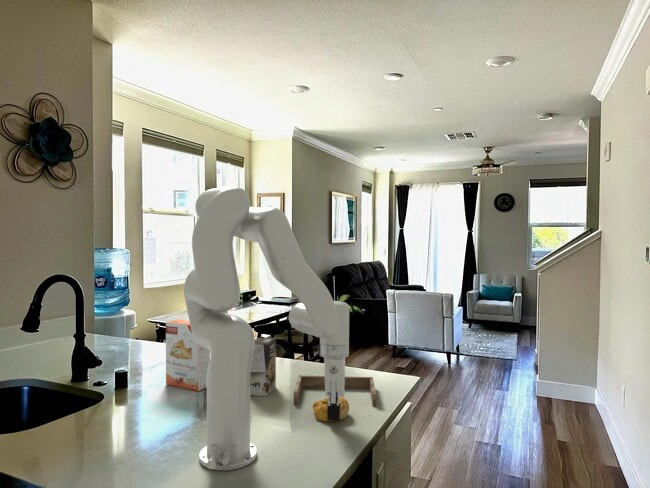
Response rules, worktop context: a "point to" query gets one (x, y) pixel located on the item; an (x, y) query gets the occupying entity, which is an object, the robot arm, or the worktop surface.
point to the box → (349, 383)
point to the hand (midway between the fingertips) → (333, 419)
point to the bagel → (321, 409)
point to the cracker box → (185, 357)
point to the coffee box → (263, 367)
